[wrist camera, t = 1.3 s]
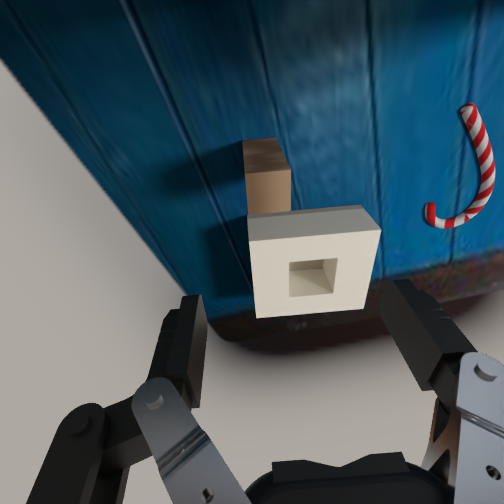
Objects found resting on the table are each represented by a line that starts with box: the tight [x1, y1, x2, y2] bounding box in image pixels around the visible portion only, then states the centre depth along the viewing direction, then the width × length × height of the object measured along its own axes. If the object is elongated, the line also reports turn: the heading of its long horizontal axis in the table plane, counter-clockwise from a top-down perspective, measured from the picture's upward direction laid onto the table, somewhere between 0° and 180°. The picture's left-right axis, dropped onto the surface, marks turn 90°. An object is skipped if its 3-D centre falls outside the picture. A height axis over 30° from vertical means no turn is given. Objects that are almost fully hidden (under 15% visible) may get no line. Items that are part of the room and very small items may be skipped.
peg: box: [242, 137, 291, 215], centre depth 26 cm, size 4×4×10 cm
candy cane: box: [425, 103, 495, 229], centre depth 32 cm, size 8×1×15 cm
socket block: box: [247, 205, 381, 318], centre depth 35 cm, size 14×12×6 cm
